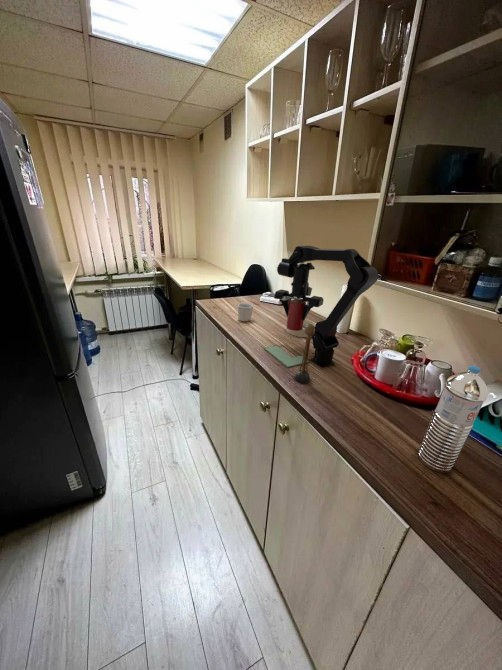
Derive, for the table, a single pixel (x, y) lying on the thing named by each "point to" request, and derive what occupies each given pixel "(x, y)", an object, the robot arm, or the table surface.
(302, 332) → the bowl
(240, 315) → the cup
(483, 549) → the table surface
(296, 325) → the can
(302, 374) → the wooden tabletop sculpture
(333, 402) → the table surface
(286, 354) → the mat
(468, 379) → the water bottle
